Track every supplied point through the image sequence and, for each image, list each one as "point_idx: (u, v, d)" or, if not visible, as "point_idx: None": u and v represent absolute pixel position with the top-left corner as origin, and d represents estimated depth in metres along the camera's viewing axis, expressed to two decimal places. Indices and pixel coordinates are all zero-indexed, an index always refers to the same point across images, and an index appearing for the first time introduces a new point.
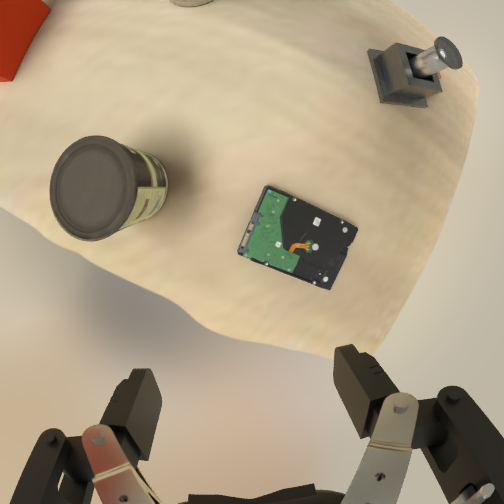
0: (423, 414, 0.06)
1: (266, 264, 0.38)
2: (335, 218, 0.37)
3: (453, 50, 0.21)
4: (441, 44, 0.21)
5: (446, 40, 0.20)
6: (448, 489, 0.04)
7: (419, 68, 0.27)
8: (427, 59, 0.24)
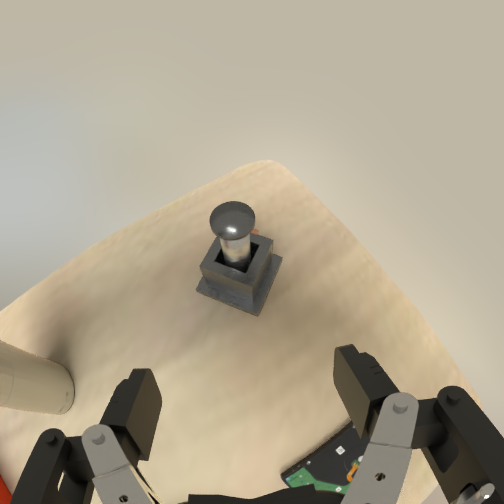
0: (423, 414, 0.06)
1: None
2: (347, 431, 0.28)
3: (231, 210, 0.31)
4: (218, 226, 0.30)
5: (216, 212, 0.31)
6: (448, 489, 0.04)
7: (238, 260, 0.35)
8: (231, 249, 0.33)
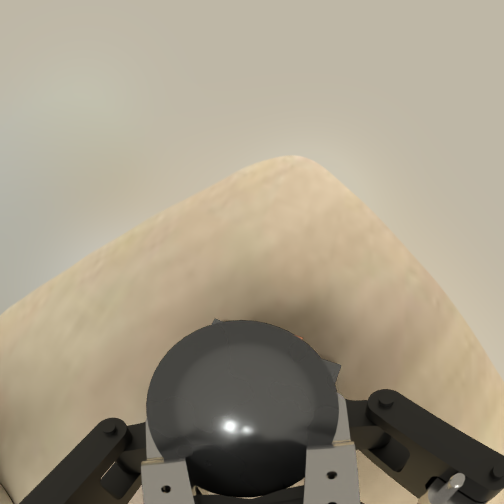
0: (353, 415, 0.07)
1: None
2: None
3: (235, 369, 0.07)
4: (185, 445, 0.06)
5: (173, 374, 0.07)
6: (410, 485, 0.05)
7: None
8: None
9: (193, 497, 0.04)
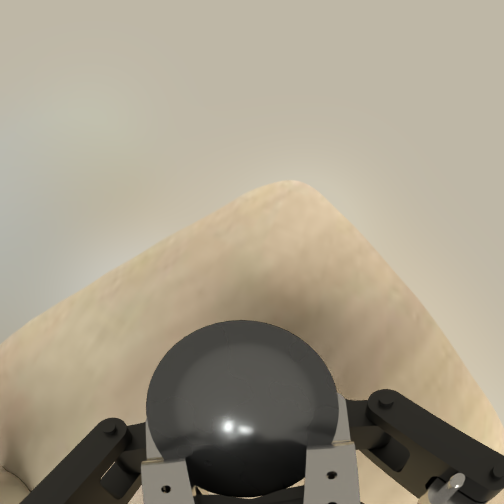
0: (353, 415, 0.07)
1: None
2: None
3: (235, 369, 0.07)
4: (185, 446, 0.06)
5: (173, 374, 0.07)
6: (410, 485, 0.05)
7: None
8: None
9: (193, 497, 0.04)
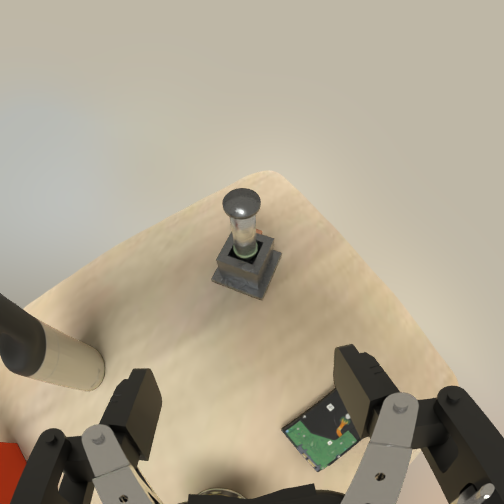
0: (423, 414, 0.06)
1: (338, 456, 0.33)
2: (336, 391, 0.38)
3: (240, 195, 0.37)
4: (230, 208, 0.36)
5: (228, 197, 0.37)
6: (448, 489, 0.04)
7: (245, 239, 0.41)
8: (240, 228, 0.39)
9: (150, 500, 0.04)
